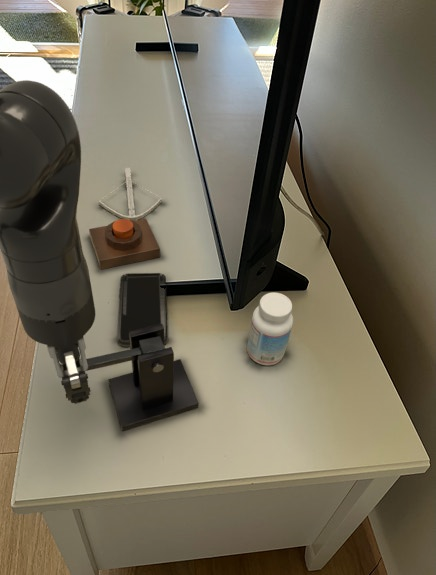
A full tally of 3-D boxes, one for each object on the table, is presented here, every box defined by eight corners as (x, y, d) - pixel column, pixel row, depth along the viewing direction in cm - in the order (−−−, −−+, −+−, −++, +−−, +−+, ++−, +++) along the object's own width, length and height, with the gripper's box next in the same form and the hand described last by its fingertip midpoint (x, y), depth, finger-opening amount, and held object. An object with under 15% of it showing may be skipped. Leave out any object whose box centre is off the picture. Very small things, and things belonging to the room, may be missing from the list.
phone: (165, 273, 87) (167, 341, 77) (165, 277, 88) (167, 345, 78) (120, 273, 86) (116, 342, 76) (120, 278, 87) (116, 347, 77)
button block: (100, 269, 88) (98, 253, 85) (90, 237, 94) (87, 221, 91) (160, 257, 91) (159, 241, 89) (146, 227, 97) (145, 210, 94)
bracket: (122, 431, 67) (115, 379, 58) (108, 383, 72) (100, 328, 63) (198, 407, 71) (203, 355, 61) (180, 363, 76) (182, 308, 66)
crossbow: (164, 221, 100) (164, 214, 98) (100, 225, 97) (99, 217, 96) (156, 172, 110) (156, 164, 108) (98, 174, 107) (97, 166, 106)
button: (116, 240, 88) (115, 233, 87) (111, 228, 90) (110, 220, 89) (135, 237, 89) (135, 229, 88) (130, 224, 92) (130, 217, 90)
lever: (71, 390, 59) (69, 378, 58) (64, 360, 62) (62, 348, 60) (166, 367, 63) (167, 355, 62) (156, 340, 66) (157, 329, 65)
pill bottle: (290, 346, 80) (304, 299, 71) (273, 373, 76) (286, 327, 68) (257, 329, 81) (267, 282, 73) (239, 355, 78) (247, 308, 69)
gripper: (6, 251, 53) (36, 346, 66) (22, 354, 44) (54, 442, 57) (76, 237, 55) (93, 332, 68) (106, 333, 47) (119, 422, 59)
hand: (75, 381), depth 62 cm, fingers closed on lever, 4 cm apart
